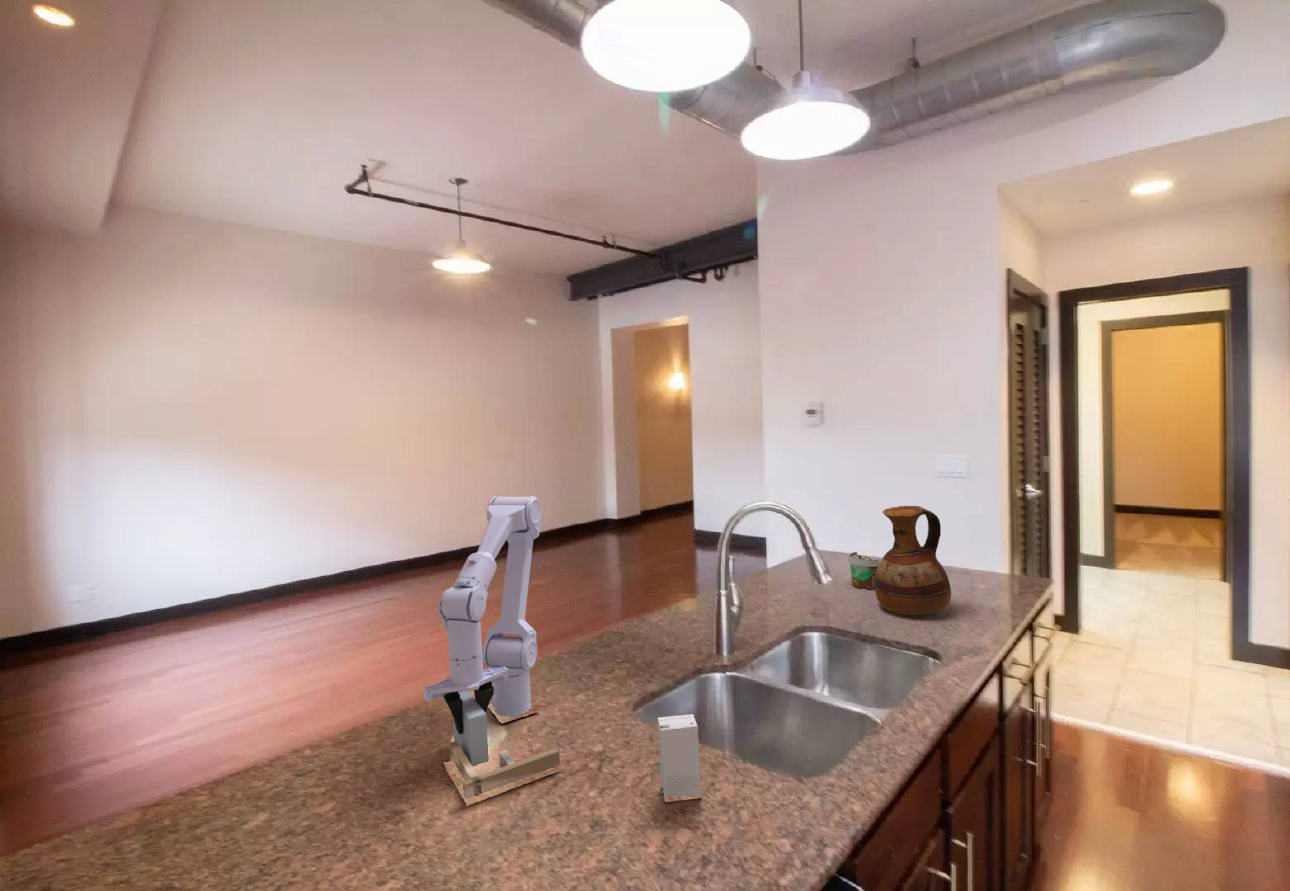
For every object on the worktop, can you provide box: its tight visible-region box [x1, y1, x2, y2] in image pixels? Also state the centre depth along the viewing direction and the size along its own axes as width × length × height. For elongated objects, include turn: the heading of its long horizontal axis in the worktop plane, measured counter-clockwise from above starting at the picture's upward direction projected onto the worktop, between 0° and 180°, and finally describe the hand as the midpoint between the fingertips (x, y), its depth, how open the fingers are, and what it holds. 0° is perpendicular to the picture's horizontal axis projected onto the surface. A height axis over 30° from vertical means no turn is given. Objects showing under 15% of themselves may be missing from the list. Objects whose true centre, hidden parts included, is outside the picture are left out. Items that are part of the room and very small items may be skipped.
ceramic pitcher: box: [874, 505, 952, 615], centre depth 178 cm, size 20×20×30 cm
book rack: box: [448, 740, 561, 799], centre depth 108 cm, size 14×16×4 cm
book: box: [452, 690, 489, 766], centre depth 112 cm, size 11×3×9 cm, turn 32°
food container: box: [847, 551, 880, 591], centre depth 201 cm, size 12×6×10 cm, turn 17°
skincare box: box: [656, 713, 702, 798], centre depth 99 cm, size 6×4×12 cm
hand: (470, 728), depth 112 cm, fingers closed on book, 3 cm apart
